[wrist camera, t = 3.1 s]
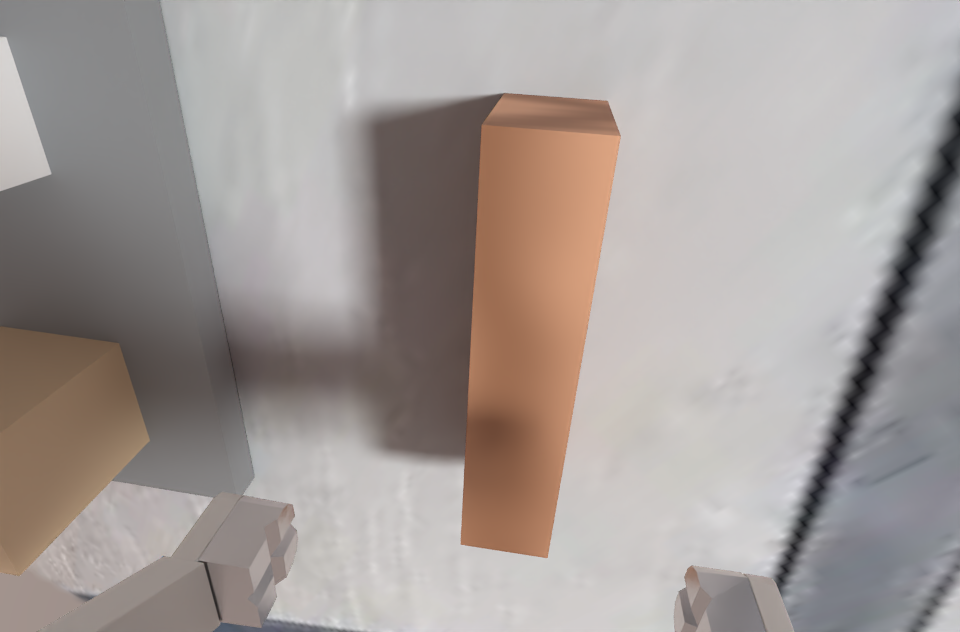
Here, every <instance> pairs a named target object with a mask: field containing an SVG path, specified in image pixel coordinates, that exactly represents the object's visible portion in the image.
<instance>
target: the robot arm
mask: <svg viewBox="0 0 960 632" xmlns="http://www.w3.org/2000/svg"><path fill="white" fill-rule="evenodd" d="M294 516H295V514H294V509H293V505H292V504H287V503H282V502H276V501H271V500H266V499H260V498H255V497H249V496H244V495H238V494H232V493H226V492H221V493H220V494H218V495H217V496H216V497H214V498H213V500H212V501H211V502H210V504H209V505H208V507H207V508H206V509H205V511H204V512H203V513H202V515H201V516H200V518H199V519H198V520H197V522H196V523H195V525H194V526H193V527H192V529H191V530H190V531H189V533H188V534H187V536H186V537H185V538H184V540H183V541H182V542H181V544H180V545H179V547H178V548H177V549H176V551H175V552H174V553H173V555H172V556H171V557H166V556H163V557H162V558H160V559H158V560H157V561H155V562H153V563H152V564H150V565H148V566H147V567H145V568H143V569H142V570H140V571H138V572H136V573H135V574H133V575H131V576H130V577H128V578H126V579H125V580H123V581H121V582H120V583H118V584H116V585H115V586H113V587H111V588H109V589H108V590H106V591H104V592H103V593H101V594H99V595H98V596H96V597H94V598H93V599H91V600H89V601H88V602H86V603H84V604H82V605H81V606H79V607H77V608H76V609H74V610H72V611H71V612H69V613H67V614H66V615H64V616H62V617H61V618H59V619H57V620H56V621H54V622H52V623H51V624H49V625H47V626H45V627H44V628H42V629H40V630H39V631H37V632H212V631H214V630H215V629H216V628H217V627H218V626H219V625H220V622H224V623H231V624H238V625H245V626H252V627H259V628H262V626H263V624H264V622H265V620H266V618H267V616H268V614H269V612H270V610H271V608H272V606H273V604H274V602H275V600H276V598H277V594H276V588H275V585H276V584H277V583H279V582H280V581H282V580H283V579H284V578H286V577H287V575H288V573H289V571H290V569H291V567H292V565H293V562H294V558H295V555H296V551H297V543H298V535H297V530H296V529H295V528H294V527H293V526H292V525H291V522H292V520H293V518H294ZM684 578H685V583H686V588H684V589H682V590H680V591H679V592H678V595H677V598H676V601H675V608H674V628H675V632H794V629H793V627H792V624H791V621H790V619H789V616H788V614H787V611H786V608H785V606H784V603H783V601H782V598H781V595H780V593H779V590H778V588H777V585H776V583H775V582H774V581H773V579H772V578H769V577H763V576H757V575H750V574H742V573H741V572H734V571H727V570H720V569H713V568H706V567H699V566H690V567H689V568H688V569H687V572H686V574H685V577H684Z"/></svg>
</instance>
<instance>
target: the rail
mask: <svg viewBox="0 0 960 632" xmlns="http://www.w3.org/2000/svg"><path fill="white" fill-rule="evenodd" d="M620 137H621V136H620V133H619V130H618V128H617V125H616V122H615V120H614V117H613V114H612V112H611V109H610V106H609V103H608V101H601V100H588V99H575V98H562V97H548V96H535V95H522V94H509V93H504V94H503V96H502V97H501V98H500V100H499V101H498V103H497V104H496V105H495V107H494V108H493V110H492V111H491V112H490V114H489V115H488V117H487V118H486V119H485V121H484V122H483V124H482V126H481V146H480V166H479V186H478V206H477V227H476V247H475V267H474V287H473V307H472V327H471V347H470V367H469V387H468V407H467V428H466V448H465V468H464V488H463V508H462V528H461V545H467V546H473V547H480V548H486V549H493V550H499V551H505V552H512V553H518V554H525V555H531V556H537V557H544V558H548V552H549V546H550V540H551V535H552V529H553V523H554V517H555V511H556V506H557V500H558V494H559V488H560V483H561V477H562V471H563V465H564V460H565V454H566V448H567V442H568V437H569V431H570V425H571V419H572V414H573V408H574V402H575V396H576V390H577V385H578V379H579V373H580V367H581V362H582V356H583V350H584V344H585V339H586V333H587V327H588V321H589V316H590V310H591V304H592V298H593V293H594V287H595V281H596V275H597V270H598V264H599V258H600V252H601V246H602V241H603V235H604V229H605V223H606V218H607V212H608V206H609V200H610V195H611V189H612V183H613V177H614V172H615V166H616V160H617V154H618V149H619V143H620Z"/></svg>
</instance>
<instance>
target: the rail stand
mask: <svg viewBox="0 0 960 632" xmlns="http://www.w3.org/2000/svg"><path fill="white" fill-rule="evenodd" d="M253 479H254V472H253V467H252V462H251V457H250V452H249V447H248V442H247V437H246V432H245V427H244V422H243V417H242V412H241V407H240V402H239V397H238V392H237V387H236V382H235V377H234V372H233V367H232V362H231V357H230V352H229V347H228V342H227V337H226V332H225V327H224V322H223V317H222V312H221V307H220V302H219V296H218V291H217V286H216V281H215V276H214V271H213V266H212V261H211V256H210V251H209V246H208V241H207V236H206V231H205V226H204V221H203V216H202V211H201V206H200V201H199V196H198V191H197V186H196V181H195V176H194V171H193V166H192V161H191V156H190V151H189V146H188V141H187V136H186V131H185V126H184V121H183V116H182V111H181V106H180V101H179V96H178V91H177V86H176V81H175V76H174V71H173V66H172V61H171V56H170V51H169V46H168V41H167V36H166V31H165V26H164V21H163V16H162V11H161V6H160V1H159V0H0V572H1V573H6V574H12V575H17V576H20V575H21V574H22V573H23V572H24V571H25V570H26V569H27V568H28V567H29V566H30V565H31V564H32V563H33V562H34V561H35V560H36V559H37V558H38V557H39V555H40V554H41V553H42V552H43V551H44V550H45V549H46V548H47V547H48V546H49V545H50V544H51V543H52V542H53V541H54V540H55V539H56V538H57V537H58V536H59V535H60V534H61V533H62V532H63V530H64V529H65V528H66V527H67V526H68V525H69V524H70V523H71V522H72V521H73V520H74V519H75V518H76V517H77V516H78V515H79V514H80V513H81V512H82V511H83V510H84V509H85V508H86V507H87V506H88V504H89V503H90V502H91V501H92V500H93V499H94V498H95V497H96V496H97V495H98V494H99V493H100V492H101V491H102V490H103V489H104V488H105V487H106V486H107V485H108V484H109V483H110V482H111V481H118V482H124V483H130V484H136V485H142V486H147V487H153V488H159V489H165V490H171V491H177V492H183V493H189V494H195V495H201V496H207V497H213V498H214V497H216V496H217V495H218V494H220V493H221V492H226V493H232V494H238V495H243V494H244V492H245V491H246V489H247V488H248V486H249V485H250V483H251V482H252V480H253Z"/></svg>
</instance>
